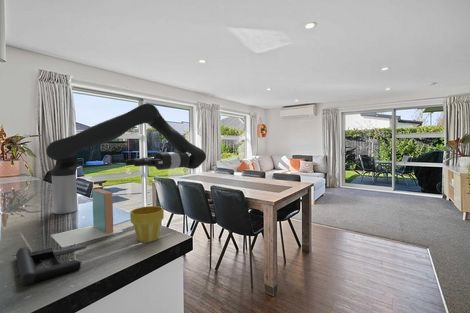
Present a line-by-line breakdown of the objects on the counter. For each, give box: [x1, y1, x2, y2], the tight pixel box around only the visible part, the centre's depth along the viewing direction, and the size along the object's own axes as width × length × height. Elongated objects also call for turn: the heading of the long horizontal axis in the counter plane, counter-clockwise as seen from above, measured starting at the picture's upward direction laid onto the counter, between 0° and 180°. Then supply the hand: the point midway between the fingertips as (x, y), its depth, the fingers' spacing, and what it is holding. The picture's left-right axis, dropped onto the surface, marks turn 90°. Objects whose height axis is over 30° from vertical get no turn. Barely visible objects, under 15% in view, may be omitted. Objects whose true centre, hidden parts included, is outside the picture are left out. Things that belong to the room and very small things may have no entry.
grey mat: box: [50, 225, 123, 249], centre depth 82 cm, size 15×18×1 cm
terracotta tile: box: [91, 188, 114, 234], centre depth 86 cm, size 12×3×14 cm, turn 49°
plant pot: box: [129, 205, 165, 243], centre depth 79 cm, size 10×10×10 cm
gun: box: [13, 244, 87, 287], centre depth 63 cm, size 3×20×16 cm
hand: (130, 163), depth 93 cm, fingers open, 6 cm apart
